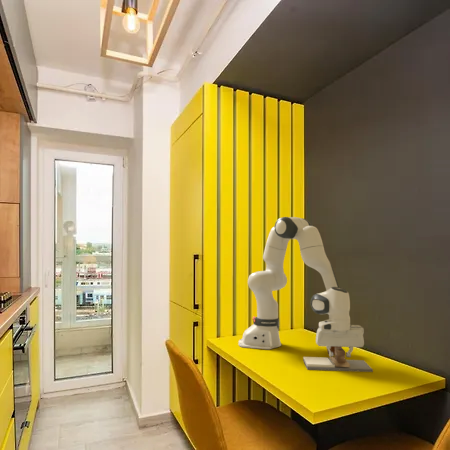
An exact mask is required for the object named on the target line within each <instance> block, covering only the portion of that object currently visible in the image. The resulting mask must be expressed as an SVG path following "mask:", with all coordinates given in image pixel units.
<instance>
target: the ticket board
mask: <svg viewBox="0 0 450 450" xmlns="http://www.w3.org/2000/svg"><path fill="white" fill-rule="evenodd" d="M302 358H303V359H302V361H303V363H304V366H305V368H306V369H307V371H308V370H310V371H311V370H312V371H333V372H334V371H336V372H338V371H339V372H362V373H364V372H366V373H369V372H370V373H373V371H374V370H373V368H372V367H371V366H370V365H369V364H368V363H367V362H366V361H365V360H364V359H363V360H361V359H346V361H347V362H348V363H349V364H350V367H336V366H335V365H334V363H333V362H332V361H331V359H330V357H320V356H319V357H318V356H303V357H302Z"/></svg>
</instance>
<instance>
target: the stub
mask: <svg viewBox="0 0 450 450" xmlns="http://www.w3.org/2000/svg"><path fill="white" fill-rule="evenodd" d="M329 358H330V359H331V361H332V362H333V363H334V365H335V366H336V367H350V364H349V363H348V362H347V361H346V360H347V359H346V350H345V349H344V347H335V355H334V356H333V357H330V356H329Z"/></svg>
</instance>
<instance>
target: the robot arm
mask: <svg viewBox="0 0 450 450" xmlns="http://www.w3.org/2000/svg"><path fill="white" fill-rule="evenodd" d="M291 240H297V242H298V245H299V251H300V256H301V259H302V261H303V263H304V264H305V265H306V266H308V267H309V268H312V269H313V270H315V271H317V272H318V273H319V274H320V276H321V278H322V281H323V284H324V287H325V291H323V292H319V293H318V292H317V293H316V294H315V293H314V294H313V295H312V296H311V298H310V302H309V303H310V307H311V310H312V311H313V312H314V314H317V315H326V314H327V315H328V319H325V320H322V321H319V322H318V328H317V330H316V334H315V335H316V336H315V344H316V345H318V347H326V350H327V349H328V351H329V354H328V356H329V358H330V357H334V355H333V352H331V351H330V349H331V346H335V347H342V348H348V351H345V358H351V357H352V356H351V354H352V352H353V350H354V348H363V347H365V346H364V345H365V340H364V339H365V338H364V334H365V333H364V332H365V329H364V327H363V326H361V325H360V324H351V317H350V311H351V300H350V299H351V298H350V293H349V292H348V290H347V289H346V288H344V287H341V286H339V283H338V280H337V277H336V274H335V271H334V269H333V265H332V263H331V261H330V260H329V258H328V257H327V254H326V251H325V248H324V243H323V240H322V237H321V233H320V232H319V229H318V228H317V227H316V226H313V225H312V223H311V222H310V221H309V220H308V219H306V218H301V217H296V216H291V217H290V216H289V217H288V216H283V217H280V218H278V219H277V220H276V221H275V223H274V226H273V227H272V228H271V229H270V231H269V233H268V237H267V240H266V243H265V247H264V250H263V255H262V259H263V261H264V262H265V265H266V267H265V270H260V271H259V270H258V271H255V272H252V273H251V274H249V276H248V279H247V286H248V288H249V290H251V292H253V295H254V297H255V300H256V315H257V316H254V315H253V317H252V321H253V324H251V326H249V327H248V328H246V329H245V330H244V332H243V334H242V338H241V339H239V340H238V346H239V347H240V348H246V349H248V348H249V349H250V348H251V349H258V350H259V349H260V350H261V349H262V350H272V349H275V348H278V347H281V346H282V343H281V340H280V339H281V338H280V332H279V331H280V330H279V328H280V318H279V304H278V301H277V300H276V299H275V298H274V296H273V292H274V291H280V290H281V289H283V288H285V287H286V285H287V282H288V277H287V276H286V274H285V272H284V261H285V256H286V252H287V248H288V245H289V244H288V243H289V241H291Z"/></svg>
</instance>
